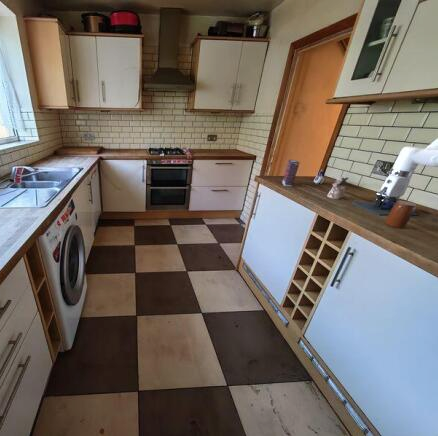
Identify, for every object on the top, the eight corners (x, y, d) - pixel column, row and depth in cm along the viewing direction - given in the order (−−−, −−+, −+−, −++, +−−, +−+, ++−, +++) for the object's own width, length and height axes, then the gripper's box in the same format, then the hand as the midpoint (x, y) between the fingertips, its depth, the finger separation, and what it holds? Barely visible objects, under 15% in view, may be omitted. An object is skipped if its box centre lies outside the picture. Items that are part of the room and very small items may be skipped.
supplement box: (292, 186, 148) (300, 162, 142) (284, 185, 150) (291, 161, 143) (289, 183, 156) (296, 159, 149) (281, 182, 157) (288, 159, 150)
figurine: (325, 194, 136) (333, 174, 131) (339, 196, 134) (347, 176, 129) (329, 198, 130) (337, 177, 125) (344, 200, 128) (353, 179, 123)
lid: (389, 207, 112) (390, 204, 111) (372, 202, 118) (374, 199, 117) (396, 205, 115) (398, 202, 114) (380, 200, 120) (381, 197, 119)
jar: (393, 221, 103) (405, 200, 99) (408, 228, 98) (422, 206, 93) (380, 221, 103) (391, 200, 99) (395, 228, 97) (407, 205, 93)
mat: (385, 203, 125) (386, 202, 125) (417, 215, 111) (418, 214, 110) (351, 203, 124) (351, 202, 124) (379, 215, 110) (379, 214, 109)
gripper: (396, 176, 104) (378, 211, 112) (423, 175, 108) (404, 209, 115) (378, 171, 111) (362, 205, 118) (404, 171, 114) (387, 203, 122)
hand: (383, 207), depth 117 cm, fingers closed on lid, 6 cm apart
